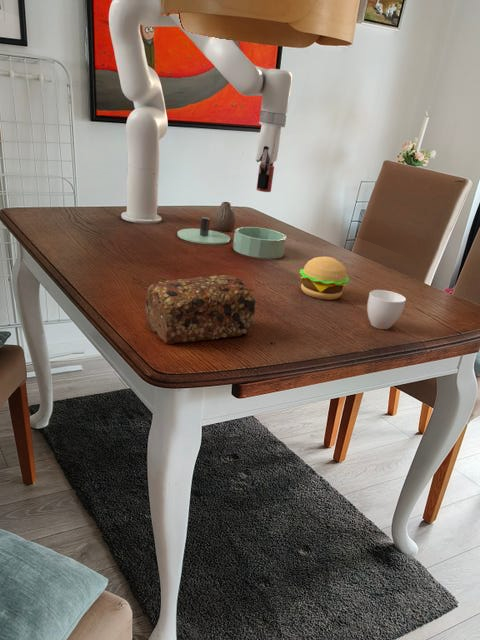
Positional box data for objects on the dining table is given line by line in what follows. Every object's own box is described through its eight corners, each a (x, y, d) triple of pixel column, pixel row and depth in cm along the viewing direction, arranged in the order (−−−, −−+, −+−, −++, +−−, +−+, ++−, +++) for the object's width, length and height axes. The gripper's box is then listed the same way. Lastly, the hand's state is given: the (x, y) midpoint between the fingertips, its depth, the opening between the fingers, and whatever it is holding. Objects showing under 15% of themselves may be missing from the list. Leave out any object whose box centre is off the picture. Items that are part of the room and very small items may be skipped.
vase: (211, 232, 182) (214, 203, 177) (213, 227, 188) (216, 199, 183) (233, 235, 182) (236, 206, 178) (234, 230, 188) (237, 201, 184)
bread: (228, 317, 120) (233, 269, 115) (253, 337, 112) (261, 287, 107) (142, 324, 111) (144, 273, 106) (164, 346, 104) (167, 292, 98)
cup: (374, 332, 123) (382, 302, 119) (351, 315, 130) (357, 286, 127) (404, 332, 125) (413, 302, 122) (380, 315, 133) (387, 286, 130)
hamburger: (355, 300, 140) (363, 264, 136) (317, 304, 134) (324, 267, 130) (324, 284, 149) (331, 250, 144) (286, 287, 143) (292, 251, 138)
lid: (185, 229, 181) (187, 209, 178) (235, 238, 179) (237, 217, 176) (169, 240, 167) (171, 218, 164) (222, 250, 165) (225, 227, 162)
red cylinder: (257, 188, 178) (261, 163, 174) (271, 190, 177) (275, 166, 174) (255, 190, 174) (258, 165, 170) (269, 192, 173) (272, 167, 170)
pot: (239, 243, 175) (241, 224, 172) (286, 251, 173) (289, 232, 170) (227, 254, 162) (230, 234, 159) (278, 263, 160) (282, 243, 158)
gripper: (265, 117, 173) (257, 182, 183) (254, 118, 159) (245, 189, 168) (289, 120, 172) (280, 186, 182) (280, 122, 158) (271, 193, 167)
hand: (264, 186), depth 175 cm, fingers closed on red cylinder, 4 cm apart
